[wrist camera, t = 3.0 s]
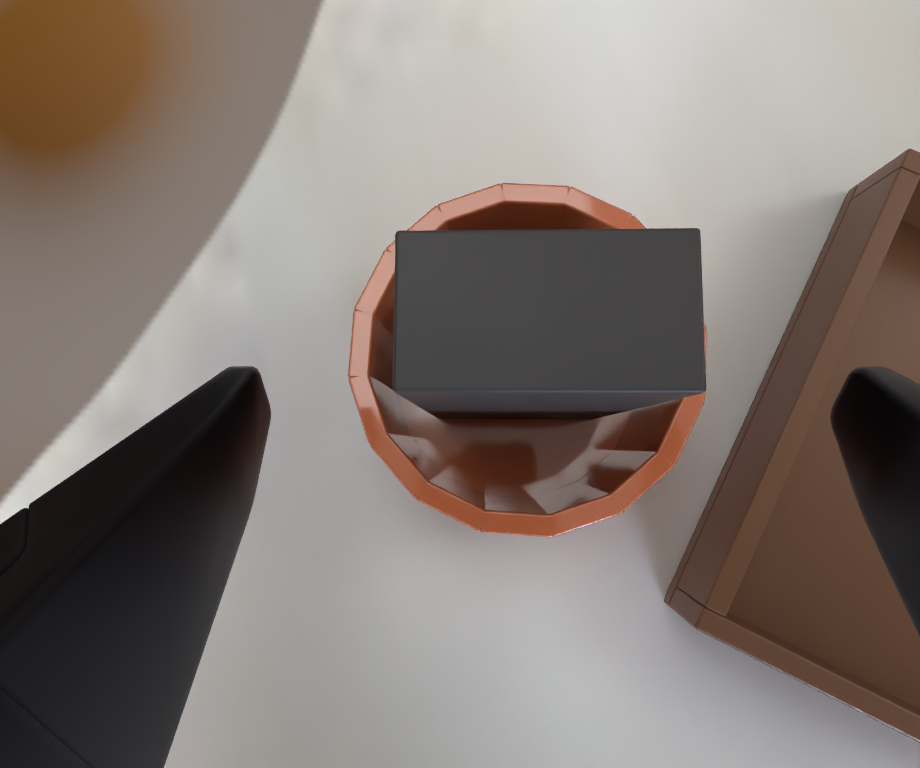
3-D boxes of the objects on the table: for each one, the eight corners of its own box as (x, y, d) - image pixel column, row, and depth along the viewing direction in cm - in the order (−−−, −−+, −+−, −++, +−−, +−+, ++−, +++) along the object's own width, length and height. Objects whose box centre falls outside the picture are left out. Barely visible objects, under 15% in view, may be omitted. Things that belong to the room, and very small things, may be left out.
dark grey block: (594, 419, 18) (707, 393, 9) (436, 418, 18) (391, 392, 9) (593, 325, 18) (700, 208, 9) (437, 325, 18) (395, 211, 9)
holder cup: (577, 557, 18) (613, 600, 13) (339, 438, 19) (288, 434, 14) (689, 319, 19) (764, 272, 14) (455, 210, 19) (446, 129, 14)
